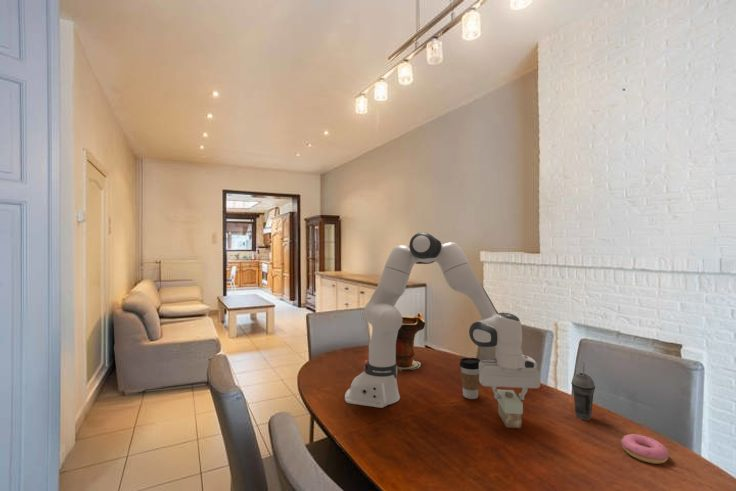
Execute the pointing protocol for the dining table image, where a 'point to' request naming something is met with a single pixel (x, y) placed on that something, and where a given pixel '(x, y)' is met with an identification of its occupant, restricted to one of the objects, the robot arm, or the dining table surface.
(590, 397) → the beverage cup
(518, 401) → the lid
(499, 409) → the box base
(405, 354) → the decorative vase
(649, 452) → the doughnut
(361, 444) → the dining table surface
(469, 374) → the coffee cup
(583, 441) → the dining table surface
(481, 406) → the dining table surface
